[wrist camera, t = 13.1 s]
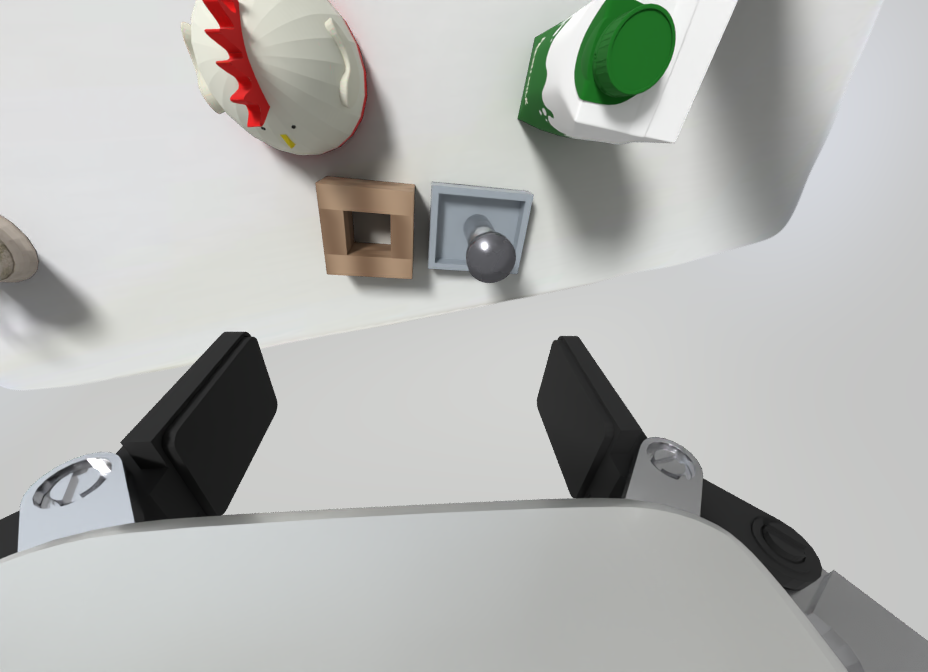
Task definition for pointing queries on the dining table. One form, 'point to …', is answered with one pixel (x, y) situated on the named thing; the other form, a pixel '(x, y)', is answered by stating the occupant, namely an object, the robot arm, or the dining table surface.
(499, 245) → the pin
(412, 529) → the robot arm
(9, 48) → the dining table surface
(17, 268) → the mug
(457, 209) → the tray
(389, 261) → the socket block
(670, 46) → the milk carton
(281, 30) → the kitchen timer
